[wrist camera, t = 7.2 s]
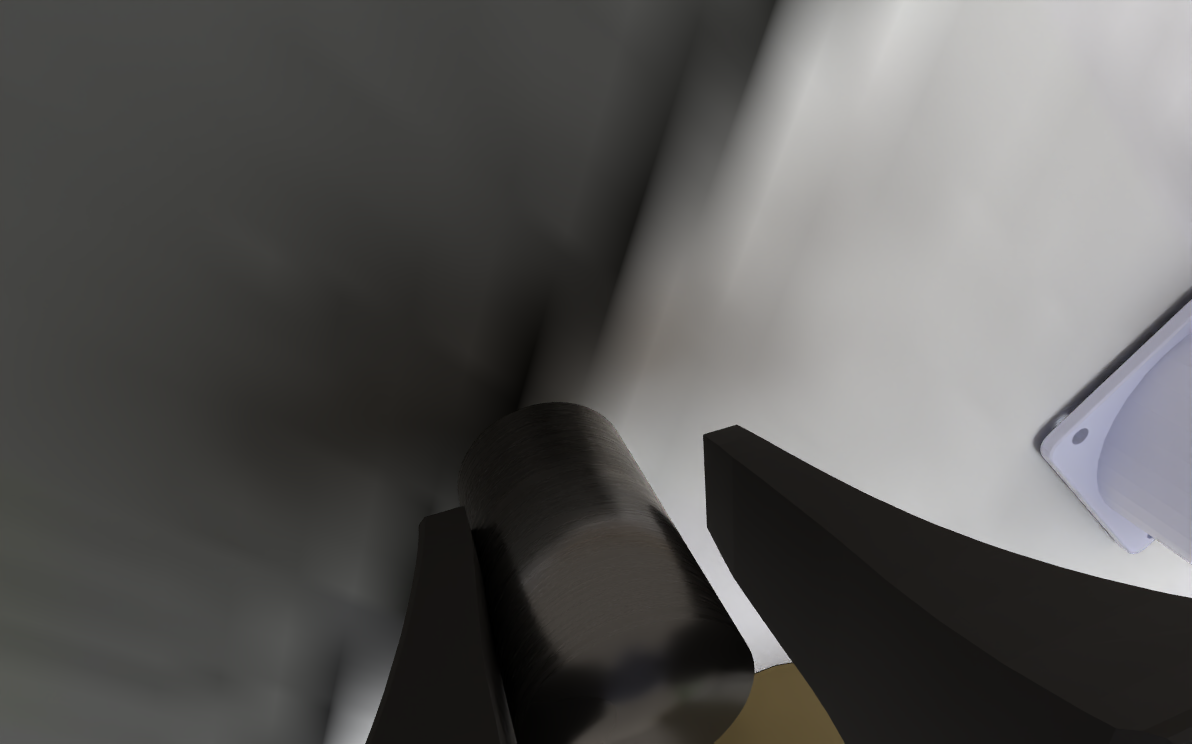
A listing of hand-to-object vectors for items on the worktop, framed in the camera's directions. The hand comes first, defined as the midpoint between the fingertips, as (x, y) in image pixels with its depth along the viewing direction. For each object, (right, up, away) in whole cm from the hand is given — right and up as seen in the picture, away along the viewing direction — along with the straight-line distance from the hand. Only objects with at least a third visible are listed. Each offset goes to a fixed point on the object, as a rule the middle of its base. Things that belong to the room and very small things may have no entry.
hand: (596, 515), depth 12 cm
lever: (-2, -7, +6) cm, 9 cm away
